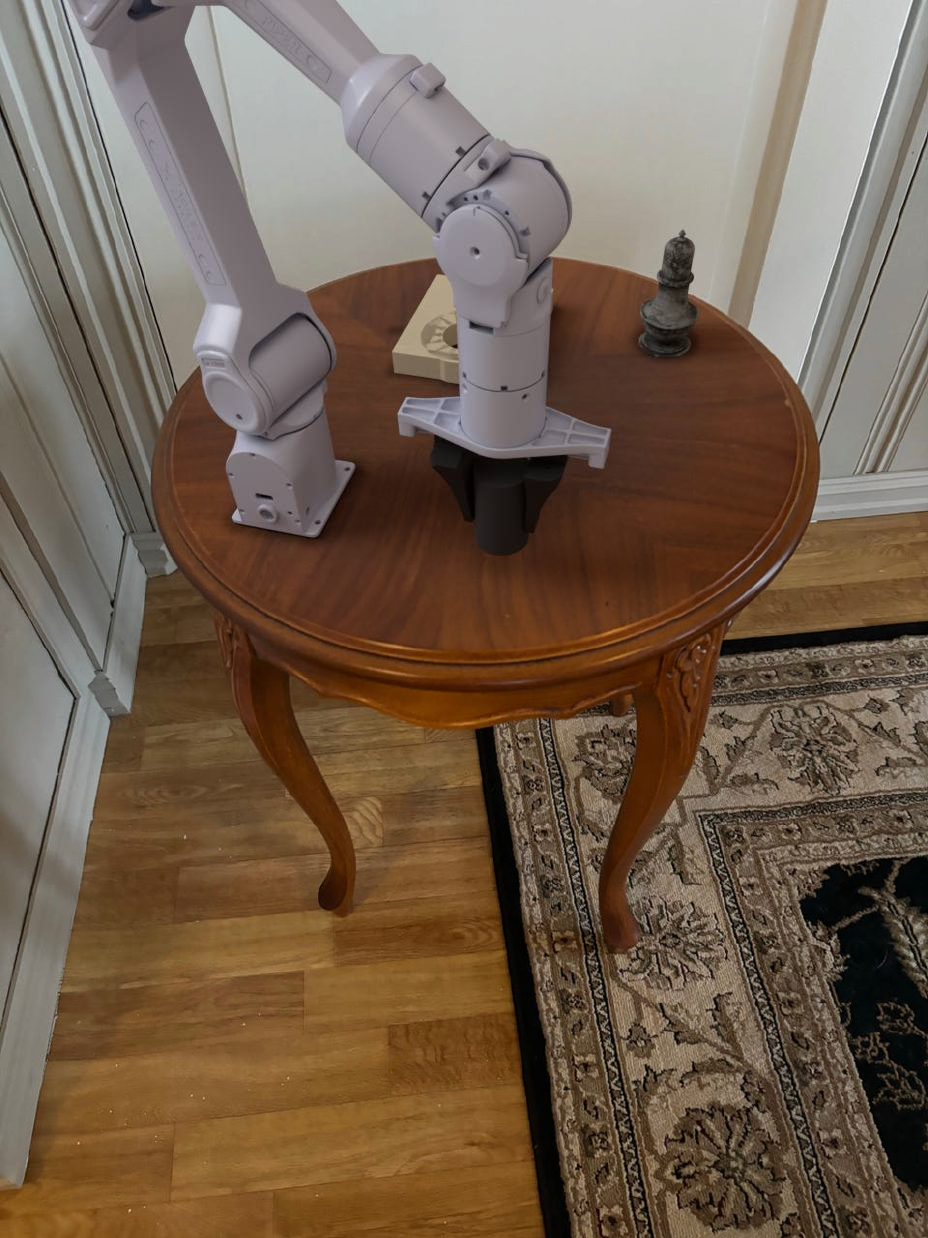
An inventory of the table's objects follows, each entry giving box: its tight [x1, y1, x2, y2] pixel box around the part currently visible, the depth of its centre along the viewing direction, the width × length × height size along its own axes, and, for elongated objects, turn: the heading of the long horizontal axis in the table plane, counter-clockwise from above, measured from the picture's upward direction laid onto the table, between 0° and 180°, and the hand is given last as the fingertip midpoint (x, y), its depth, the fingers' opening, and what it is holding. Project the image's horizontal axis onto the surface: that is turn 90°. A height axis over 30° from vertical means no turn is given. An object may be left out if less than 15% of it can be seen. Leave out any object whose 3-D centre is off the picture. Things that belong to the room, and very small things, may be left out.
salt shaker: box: [638, 229, 700, 359], centre depth 87 cm, size 6×6×12 cm
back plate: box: [391, 273, 555, 385], centre depth 92 cm, size 15×13×2 cm
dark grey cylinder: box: [473, 454, 530, 557], centre depth 66 cm, size 4×4×7 cm
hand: (502, 518), depth 67 cm, fingers closed on dark grey cylinder, 4 cm apart
